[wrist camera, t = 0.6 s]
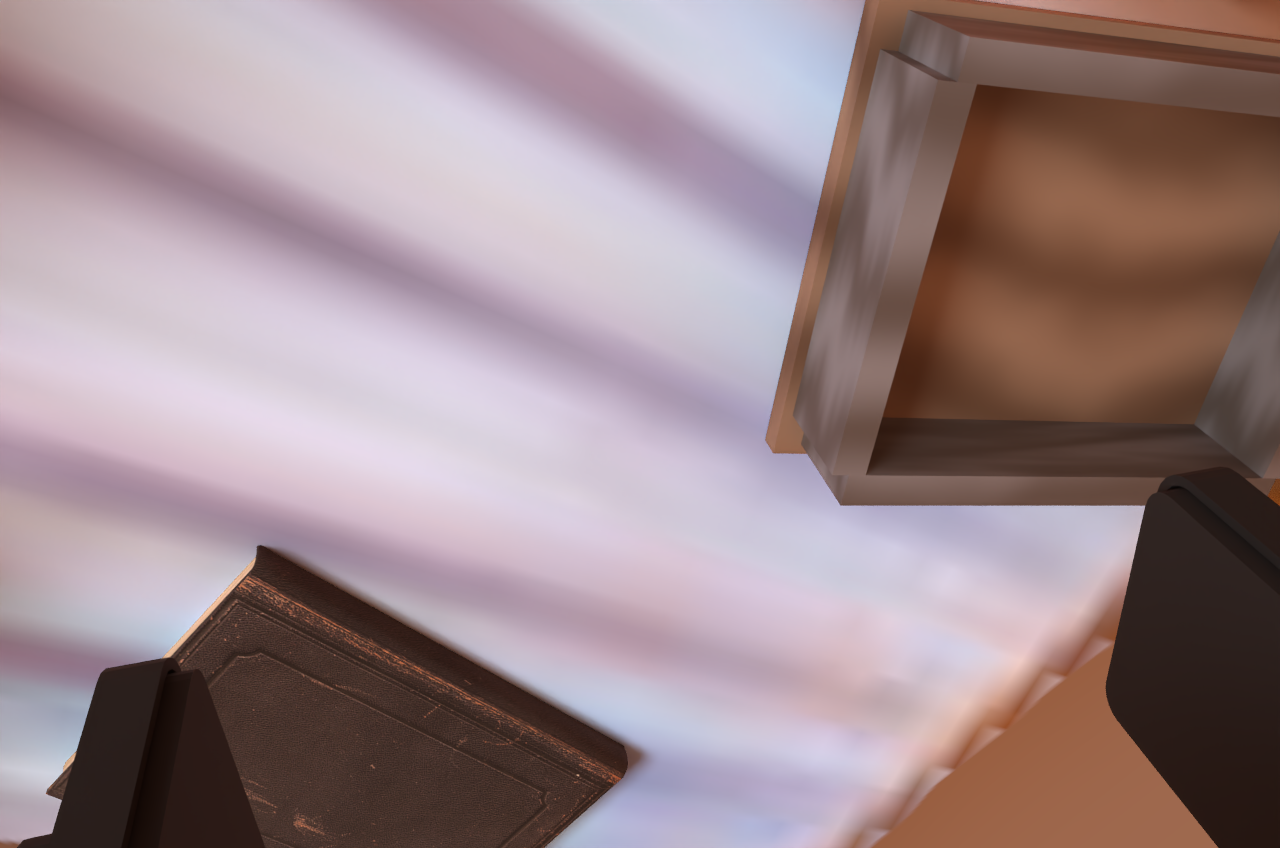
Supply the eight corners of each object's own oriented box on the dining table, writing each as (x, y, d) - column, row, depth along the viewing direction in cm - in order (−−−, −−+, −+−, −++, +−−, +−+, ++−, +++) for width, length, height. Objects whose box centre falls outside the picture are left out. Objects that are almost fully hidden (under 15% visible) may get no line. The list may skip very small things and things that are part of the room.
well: (869, -14, 42) (940, 16, 36) (1373, 52, 48) (1497, 86, 42) (765, 439, 51) (810, 515, 46) (1196, 446, 57) (1280, 514, 52)
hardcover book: (434, 908, 64) (436, 944, 62) (57, 757, 52) (45, 795, 51) (623, 738, 60) (631, 770, 58) (261, 536, 49) (256, 567, 47)
